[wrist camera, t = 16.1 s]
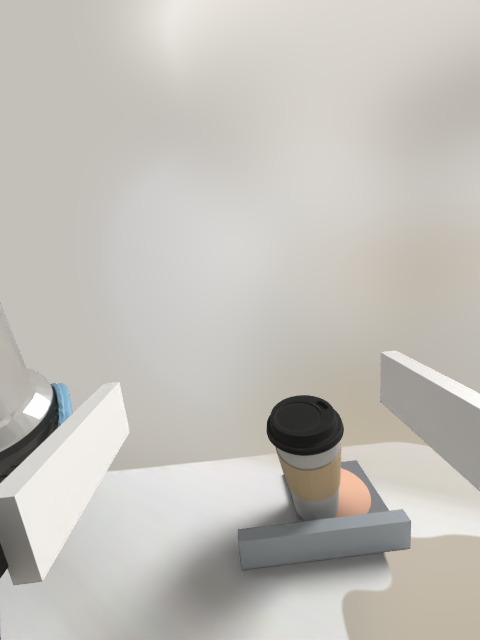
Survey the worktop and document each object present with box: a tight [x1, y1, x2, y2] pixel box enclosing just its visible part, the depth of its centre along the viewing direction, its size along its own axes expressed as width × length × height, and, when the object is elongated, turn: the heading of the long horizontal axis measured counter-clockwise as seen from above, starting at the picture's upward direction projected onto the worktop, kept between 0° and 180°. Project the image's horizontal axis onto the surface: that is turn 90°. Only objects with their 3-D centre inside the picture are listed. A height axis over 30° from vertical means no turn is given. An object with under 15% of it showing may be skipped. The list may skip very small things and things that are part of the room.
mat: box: [294, 460, 389, 522], centre depth 40 cm, size 12×11×1 cm
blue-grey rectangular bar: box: [238, 509, 411, 570], centre depth 32 cm, size 20×2×4 cm, turn 92°
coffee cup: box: [267, 395, 344, 521], centre depth 35 cm, size 9×9×15 cm
